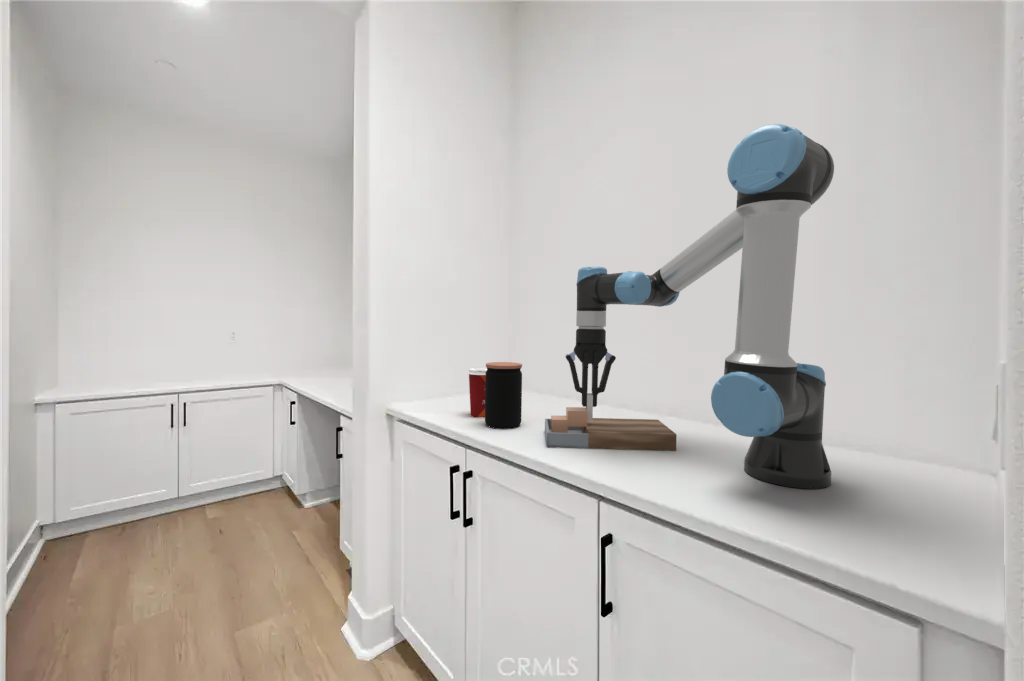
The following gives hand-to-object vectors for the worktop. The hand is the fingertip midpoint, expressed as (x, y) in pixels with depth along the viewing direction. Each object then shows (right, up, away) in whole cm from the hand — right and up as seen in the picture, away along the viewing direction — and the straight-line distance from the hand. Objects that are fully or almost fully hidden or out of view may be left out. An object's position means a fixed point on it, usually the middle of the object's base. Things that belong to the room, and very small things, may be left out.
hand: (588, 418), depth 118 cm
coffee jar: (-23, -5, +15) cm, 28 cm away
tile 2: (-3, -1, 0) cm, 4 cm away
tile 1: (-6, -2, 0) cm, 6 cm away
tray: (-6, -5, 0) cm, 8 cm away
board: (+9, -6, 0) cm, 11 cm away
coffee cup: (-30, -4, +27) cm, 41 cm away
